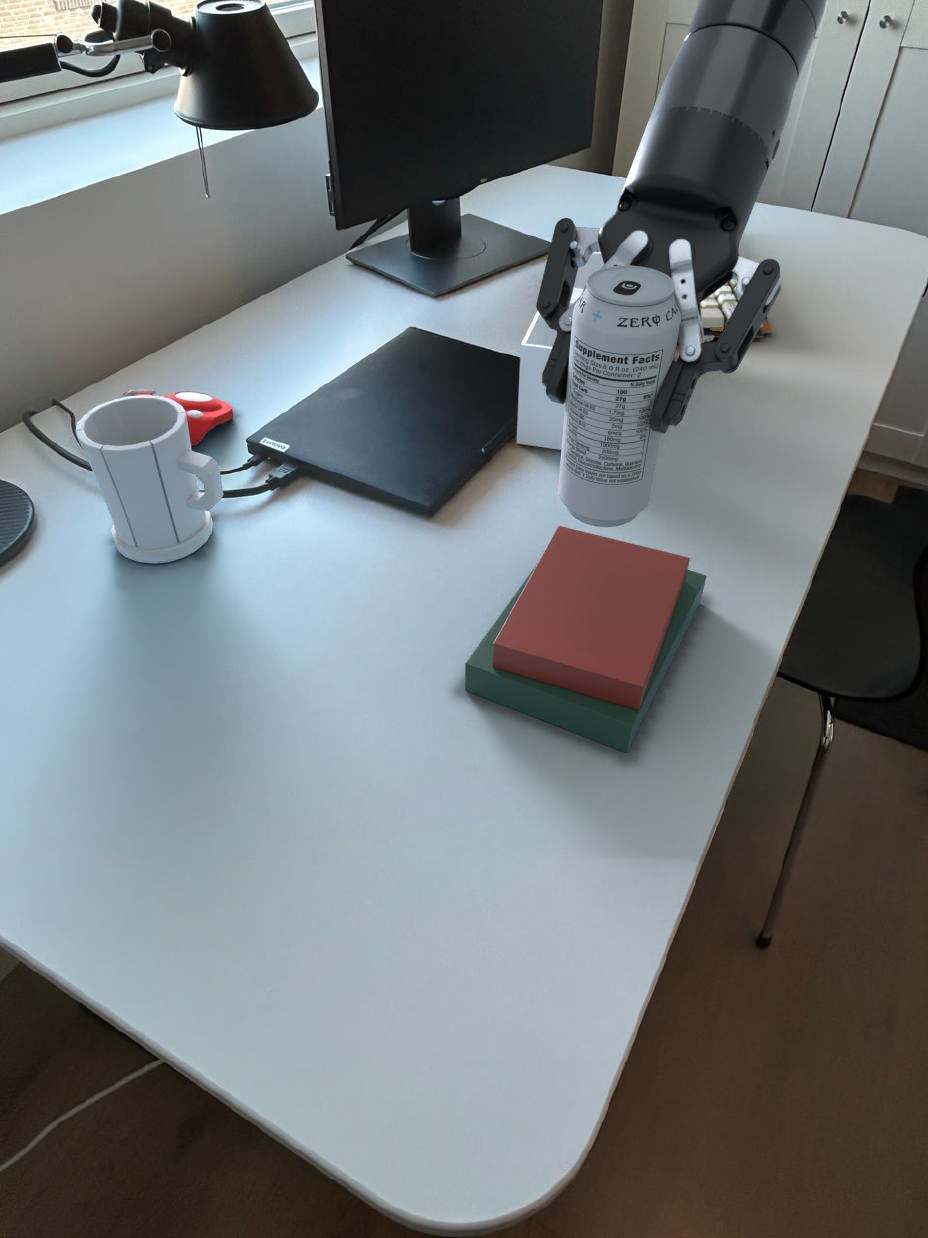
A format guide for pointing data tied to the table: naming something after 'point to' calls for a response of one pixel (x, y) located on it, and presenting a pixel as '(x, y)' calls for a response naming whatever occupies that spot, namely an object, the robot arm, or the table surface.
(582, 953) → the table surface
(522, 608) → the book stack
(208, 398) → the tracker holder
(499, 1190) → the table surface
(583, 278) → the storage container
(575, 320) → the energy drink can
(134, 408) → the cup
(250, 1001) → the table surface
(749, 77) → the robot arm
